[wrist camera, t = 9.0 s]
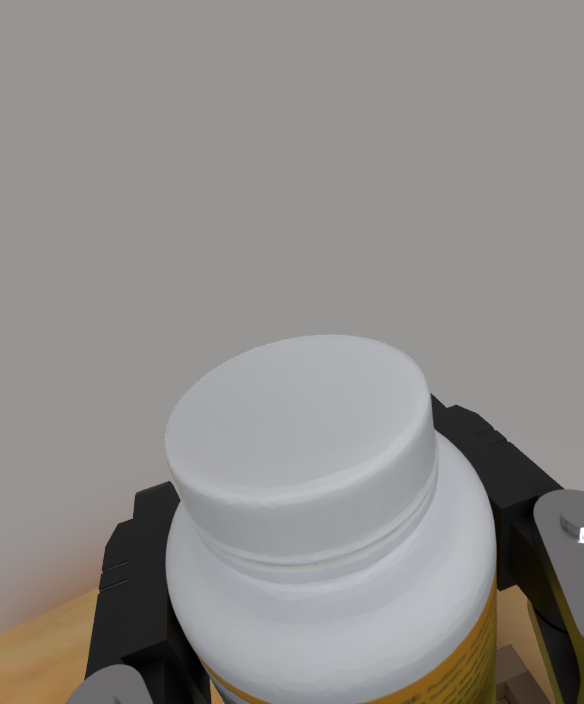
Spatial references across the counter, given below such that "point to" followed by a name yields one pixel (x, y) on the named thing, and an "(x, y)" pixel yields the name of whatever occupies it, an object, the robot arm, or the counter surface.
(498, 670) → the pocket frame
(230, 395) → the supplement bottle
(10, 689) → the counter surface
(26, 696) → the counter surface
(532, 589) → the robot arm
